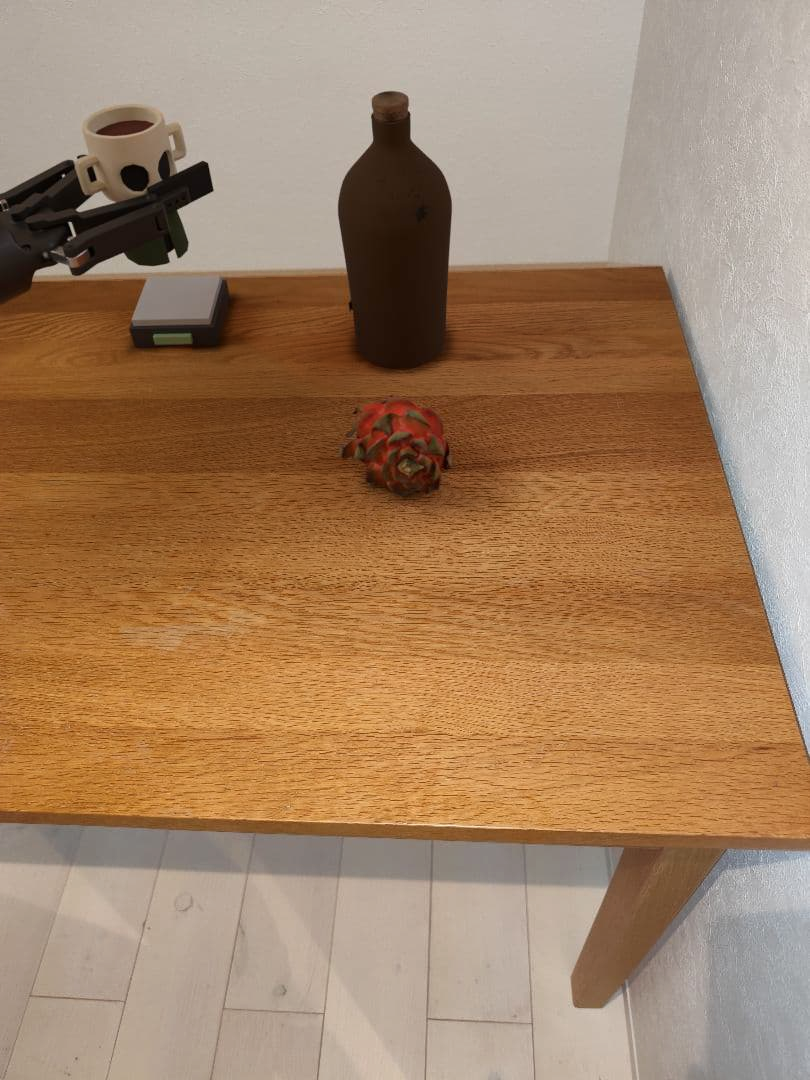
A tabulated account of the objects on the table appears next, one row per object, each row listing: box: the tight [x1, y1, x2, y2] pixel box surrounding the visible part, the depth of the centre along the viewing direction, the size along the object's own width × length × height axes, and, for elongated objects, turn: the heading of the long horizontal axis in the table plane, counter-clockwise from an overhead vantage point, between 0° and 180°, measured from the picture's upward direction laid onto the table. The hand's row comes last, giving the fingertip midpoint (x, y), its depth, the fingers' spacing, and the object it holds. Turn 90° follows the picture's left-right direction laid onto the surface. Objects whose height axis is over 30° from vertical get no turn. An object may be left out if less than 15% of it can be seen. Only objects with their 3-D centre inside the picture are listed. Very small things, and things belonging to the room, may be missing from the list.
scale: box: [128, 274, 231, 348], centre depth 97 cm, size 9×10×3 cm
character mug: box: [74, 103, 190, 267], centre depth 83 cm, size 11×7×13 cm, turn 133°
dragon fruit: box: [338, 393, 455, 498], centre depth 79 cm, size 8×8×12 cm
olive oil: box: [337, 90, 453, 370], centre depth 85 cm, size 11×11×25 cm
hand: (181, 164), depth 85 cm, fingers closed on character mug, 7 cm apart
